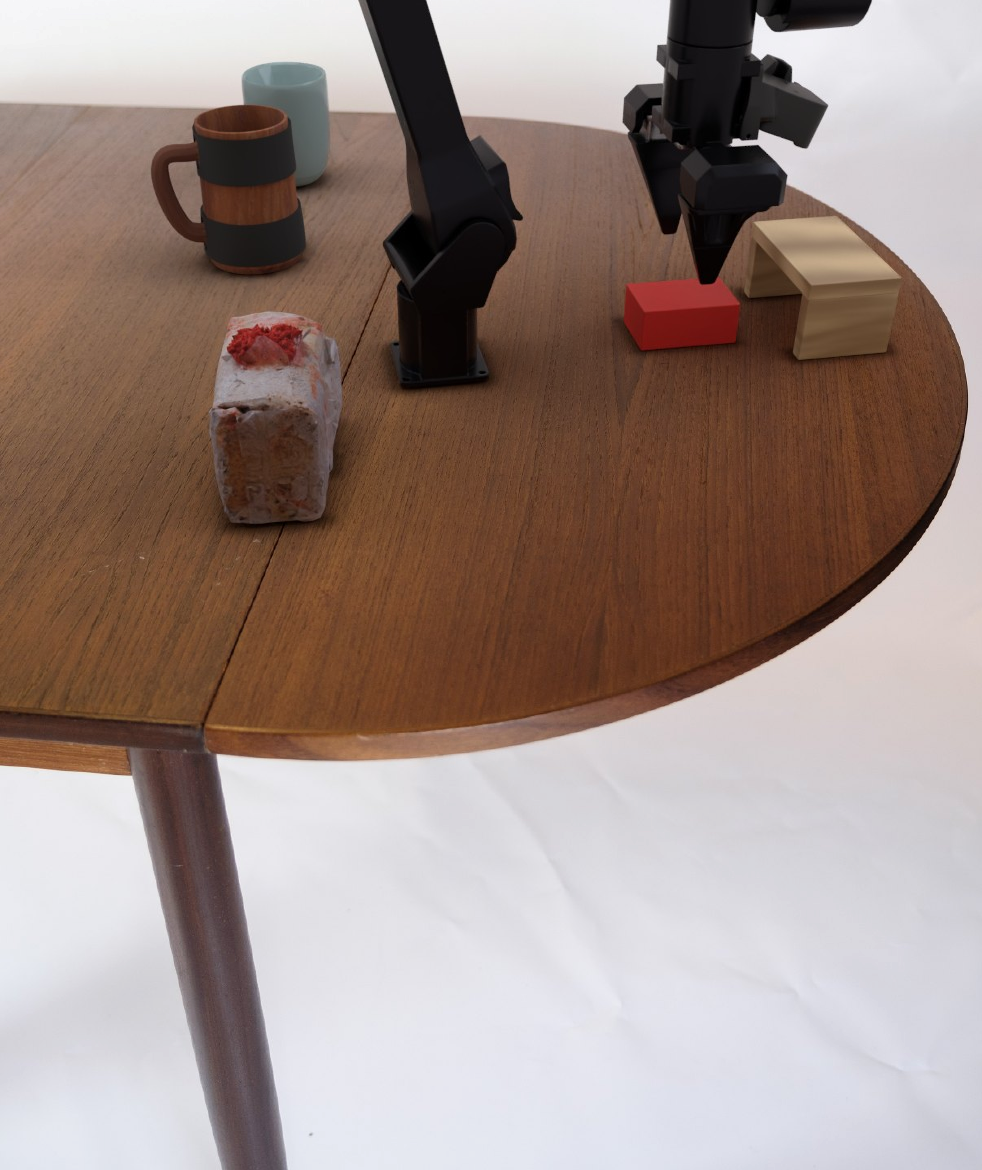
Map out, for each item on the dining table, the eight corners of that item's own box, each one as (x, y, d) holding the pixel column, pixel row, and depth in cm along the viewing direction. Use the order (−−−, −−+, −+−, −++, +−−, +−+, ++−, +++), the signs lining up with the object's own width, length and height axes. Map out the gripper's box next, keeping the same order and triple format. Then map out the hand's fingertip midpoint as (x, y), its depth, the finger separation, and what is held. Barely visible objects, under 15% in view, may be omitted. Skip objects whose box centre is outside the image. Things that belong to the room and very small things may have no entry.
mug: (159, 249, 111) (136, 112, 104) (295, 231, 114) (282, 97, 107) (173, 289, 105) (150, 146, 97) (317, 269, 108) (305, 129, 101)
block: (714, 314, 101) (719, 276, 99) (735, 343, 97) (740, 304, 96) (623, 321, 100) (626, 283, 98) (640, 351, 96) (644, 311, 94)
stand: (886, 352, 96) (902, 277, 93) (798, 360, 95) (811, 285, 92) (824, 285, 106) (836, 215, 102) (743, 292, 105) (753, 221, 101)
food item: (229, 417, 88) (211, 283, 82) (345, 411, 89) (335, 279, 83) (216, 530, 78) (193, 386, 72) (348, 523, 78) (336, 380, 72)
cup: (239, 189, 122) (226, 81, 116) (273, 162, 128) (263, 58, 122) (314, 198, 120) (305, 89, 114) (345, 171, 126) (338, 65, 120)
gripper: (881, 71, 80) (839, 303, 89) (774, -3, 94) (747, 204, 104) (710, 80, 78) (685, 316, 87) (627, 4, 92) (614, 213, 102)
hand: (687, 257), depth 95 cm, fingers open, 9 cm apart
